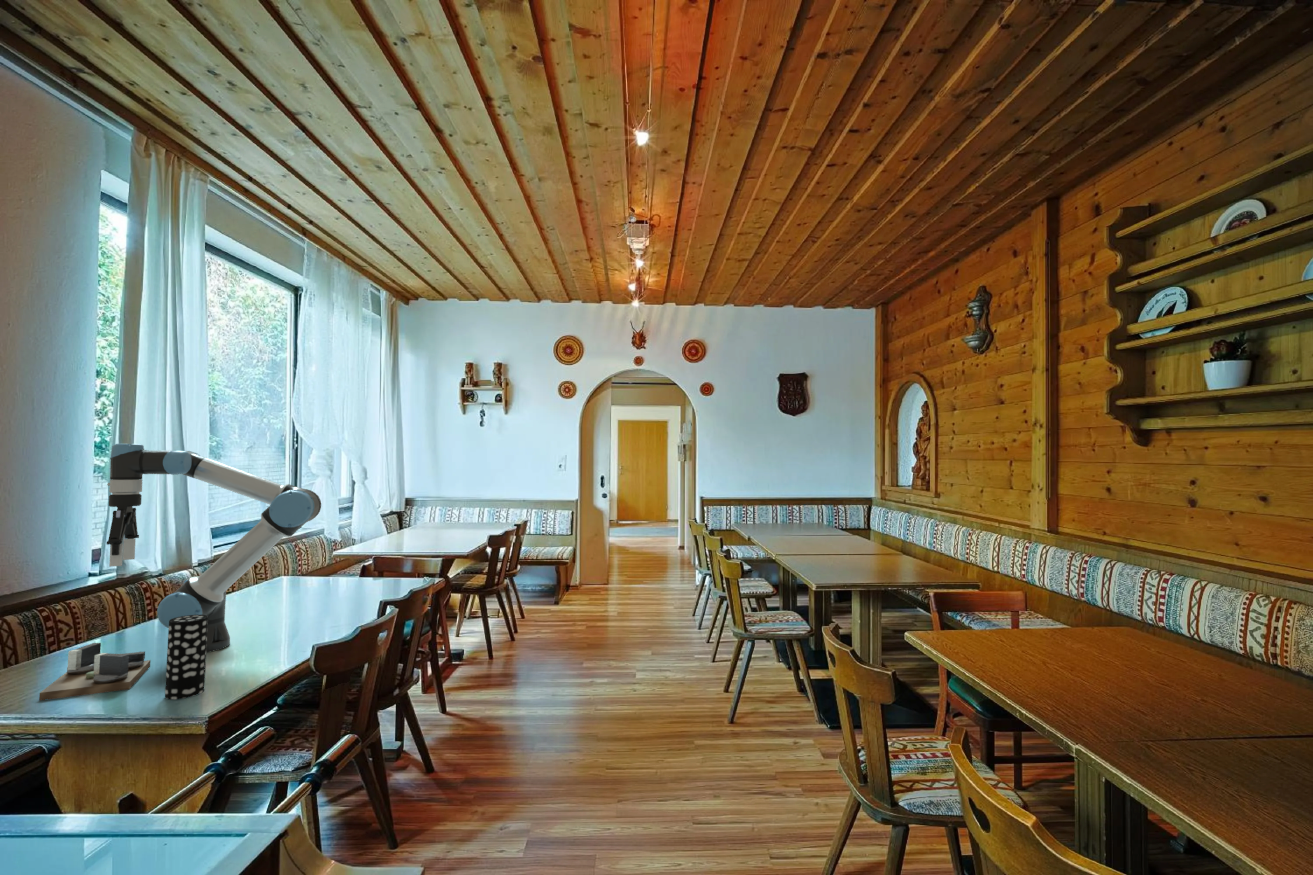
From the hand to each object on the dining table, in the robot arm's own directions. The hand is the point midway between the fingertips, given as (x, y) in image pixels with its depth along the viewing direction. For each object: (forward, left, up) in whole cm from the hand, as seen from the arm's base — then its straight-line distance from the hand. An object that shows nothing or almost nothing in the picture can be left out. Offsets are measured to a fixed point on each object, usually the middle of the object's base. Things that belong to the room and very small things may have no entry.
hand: (122, 562), depth 182 cm
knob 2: (-4, +22, -29) cm, 37 cm away
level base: (0, +16, -31) cm, 35 cm away
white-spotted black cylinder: (-23, +36, -31) cm, 53 cm away
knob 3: (-5, +11, -29) cm, 31 cm away
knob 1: (+5, +10, -29) cm, 31 cm away
